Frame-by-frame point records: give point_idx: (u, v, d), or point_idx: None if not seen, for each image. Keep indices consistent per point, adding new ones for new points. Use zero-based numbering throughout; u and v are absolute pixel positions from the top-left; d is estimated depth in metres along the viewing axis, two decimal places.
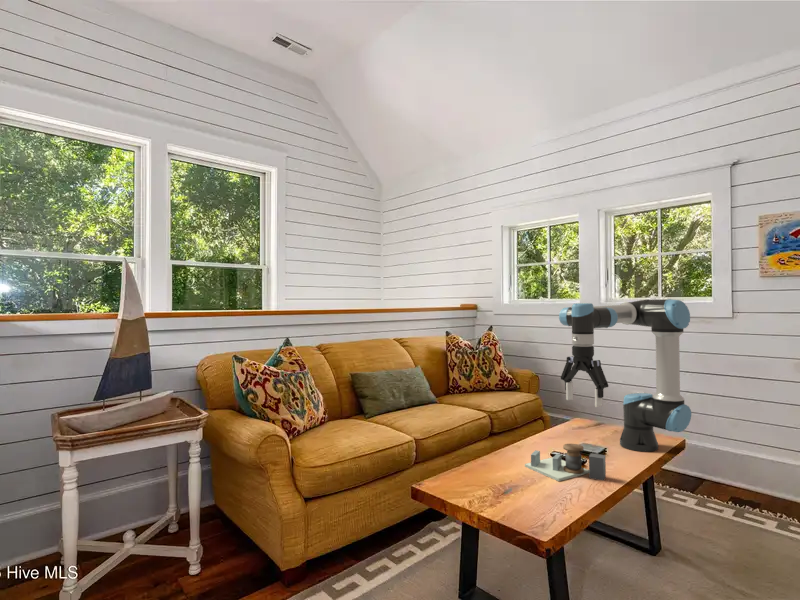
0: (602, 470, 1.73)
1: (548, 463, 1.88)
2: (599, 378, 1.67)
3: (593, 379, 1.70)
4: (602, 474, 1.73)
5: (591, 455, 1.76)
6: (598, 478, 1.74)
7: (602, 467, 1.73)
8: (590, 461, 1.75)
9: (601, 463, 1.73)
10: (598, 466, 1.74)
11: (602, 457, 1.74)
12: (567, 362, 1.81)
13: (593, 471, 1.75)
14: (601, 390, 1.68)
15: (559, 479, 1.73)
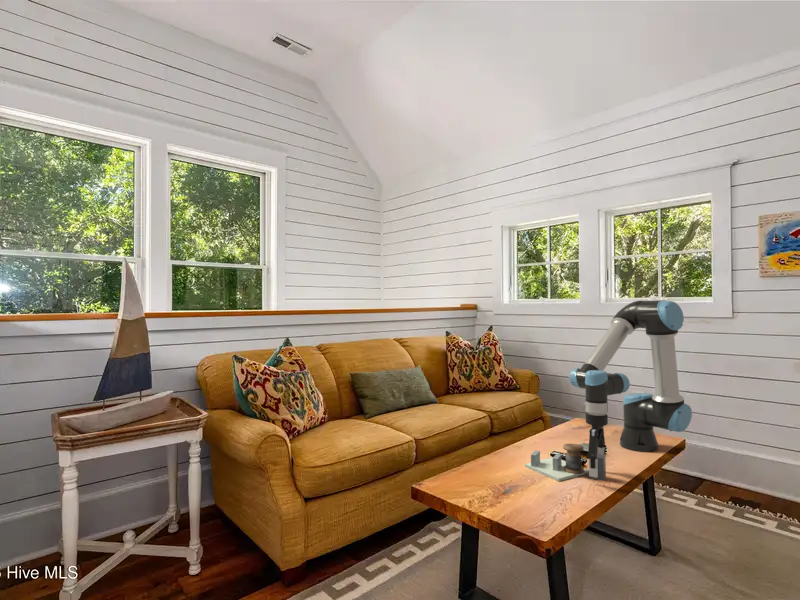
0: (602, 470, 1.73)
1: (548, 463, 1.88)
2: None
3: None
4: (602, 474, 1.73)
5: None
6: (598, 478, 1.74)
7: (602, 467, 1.73)
8: None
9: (601, 463, 1.73)
10: (598, 466, 1.74)
11: (602, 457, 1.74)
12: None
13: None
14: (591, 460, 1.69)
15: (559, 479, 1.73)
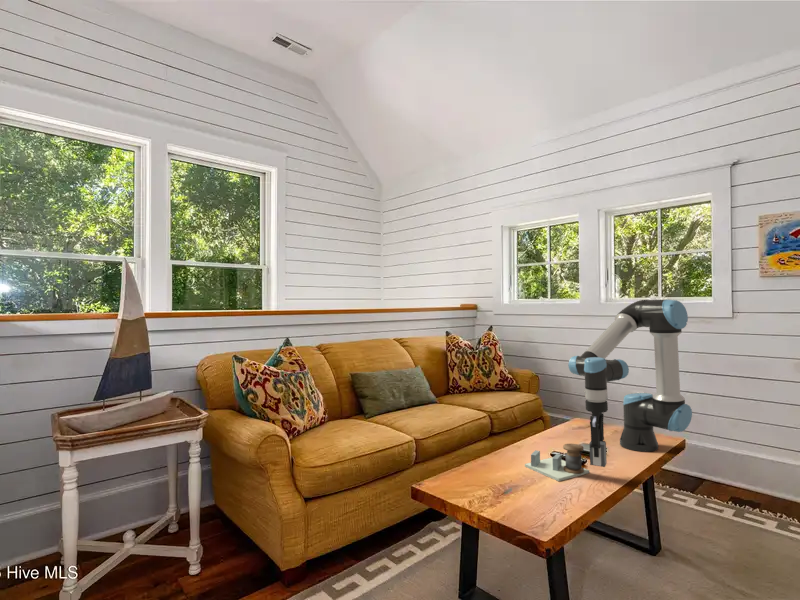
0: (603, 457, 1.73)
1: (548, 463, 1.88)
2: (591, 438, 1.72)
3: None
4: (603, 460, 1.73)
5: None
6: None
7: (603, 454, 1.73)
8: (591, 448, 1.75)
9: (602, 450, 1.73)
10: None
11: (602, 444, 1.74)
12: None
13: None
14: (595, 449, 1.73)
15: (559, 479, 1.73)
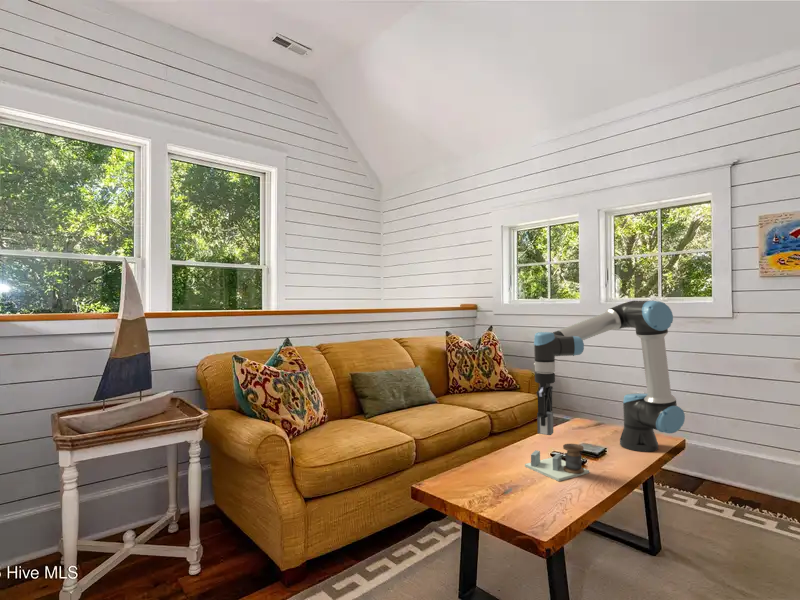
0: (549, 425, 1.82)
1: (548, 463, 1.88)
2: None
3: None
4: (549, 429, 1.82)
5: None
6: None
7: (549, 422, 1.82)
8: (538, 417, 1.85)
9: (548, 419, 1.83)
10: None
11: (549, 413, 1.83)
12: None
13: None
14: (541, 418, 1.82)
15: (559, 479, 1.73)
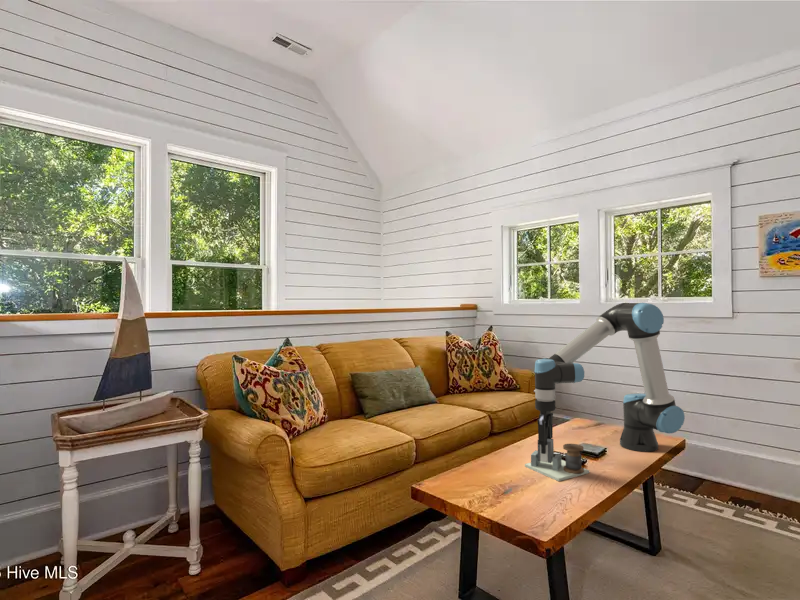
0: (549, 453, 1.83)
1: (548, 463, 1.88)
2: None
3: None
4: (549, 457, 1.83)
5: None
6: None
7: (549, 450, 1.83)
8: (538, 445, 1.85)
9: (548, 446, 1.83)
10: None
11: (550, 441, 1.83)
12: None
13: None
14: (542, 446, 1.82)
15: (559, 479, 1.73)
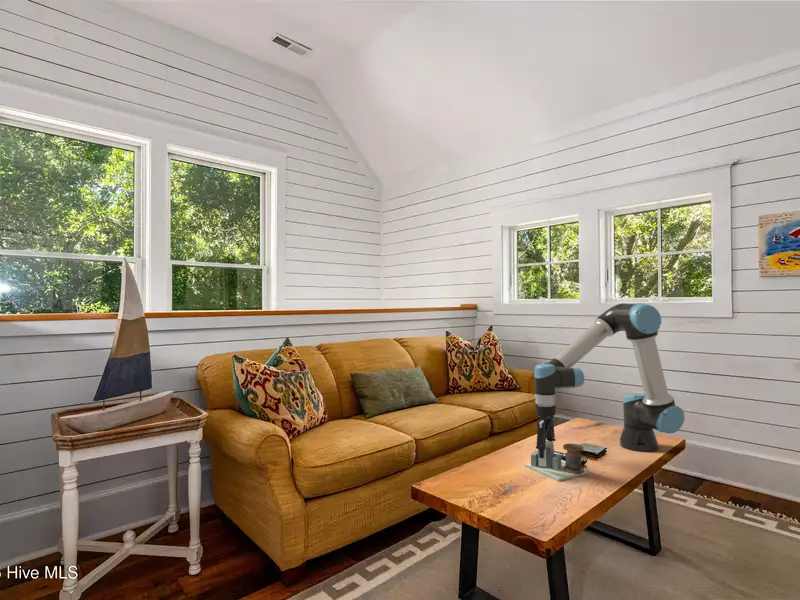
0: (550, 459, 1.83)
1: None
2: None
3: None
4: (550, 463, 1.83)
5: (540, 445, 1.86)
6: (546, 466, 1.83)
7: (550, 456, 1.83)
8: None
9: (549, 452, 1.83)
10: (546, 455, 1.83)
11: (550, 446, 1.84)
12: None
13: None
14: (540, 451, 1.80)
15: (559, 479, 1.73)
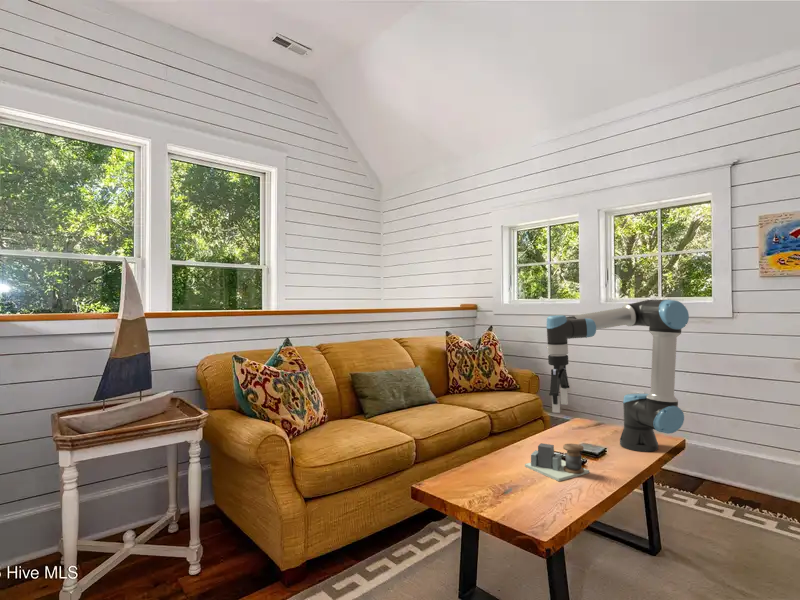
0: (550, 459, 1.83)
1: None
2: None
3: None
4: (550, 463, 1.83)
5: (540, 445, 1.86)
6: (546, 466, 1.83)
7: (550, 456, 1.83)
8: (539, 450, 1.85)
9: (549, 452, 1.83)
10: (546, 455, 1.83)
11: (550, 446, 1.84)
12: None
13: (542, 459, 1.84)
14: (553, 397, 1.81)
15: (559, 479, 1.73)
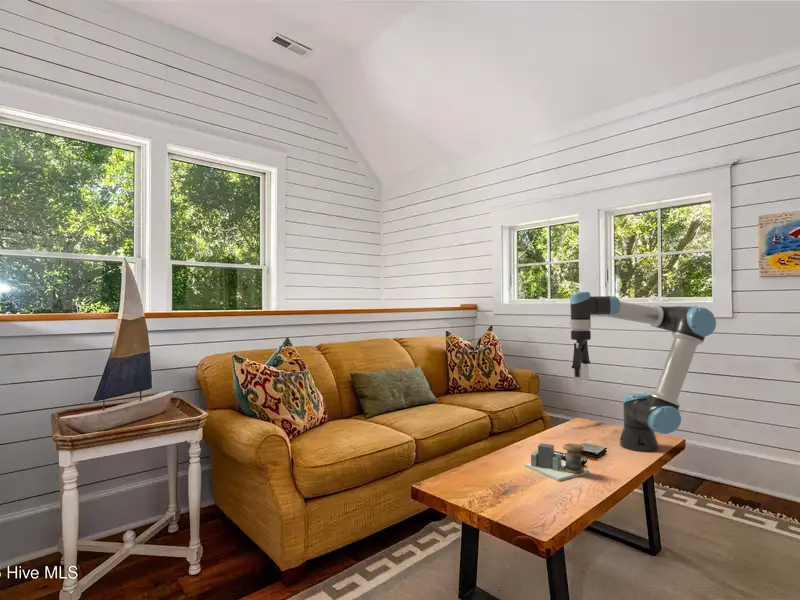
0: (550, 459, 1.83)
1: None
2: None
3: None
4: (550, 463, 1.83)
5: (540, 445, 1.86)
6: (546, 466, 1.83)
7: (550, 456, 1.83)
8: (539, 450, 1.85)
9: (549, 452, 1.83)
10: (546, 455, 1.83)
11: (550, 446, 1.84)
12: None
13: (542, 459, 1.84)
14: (576, 370, 1.87)
15: (559, 479, 1.73)
